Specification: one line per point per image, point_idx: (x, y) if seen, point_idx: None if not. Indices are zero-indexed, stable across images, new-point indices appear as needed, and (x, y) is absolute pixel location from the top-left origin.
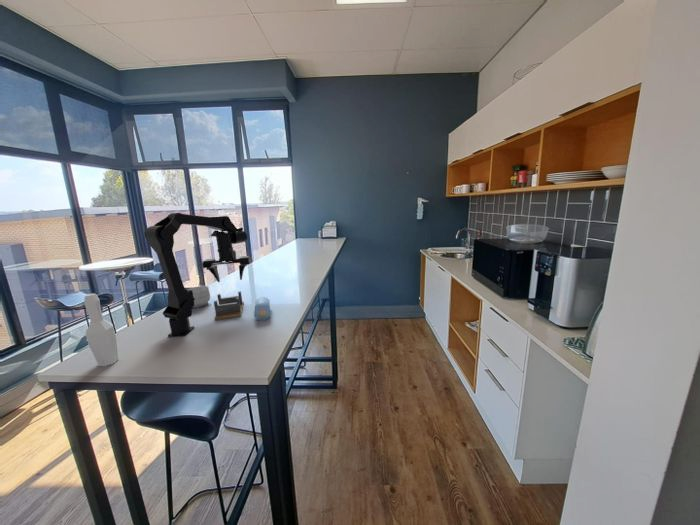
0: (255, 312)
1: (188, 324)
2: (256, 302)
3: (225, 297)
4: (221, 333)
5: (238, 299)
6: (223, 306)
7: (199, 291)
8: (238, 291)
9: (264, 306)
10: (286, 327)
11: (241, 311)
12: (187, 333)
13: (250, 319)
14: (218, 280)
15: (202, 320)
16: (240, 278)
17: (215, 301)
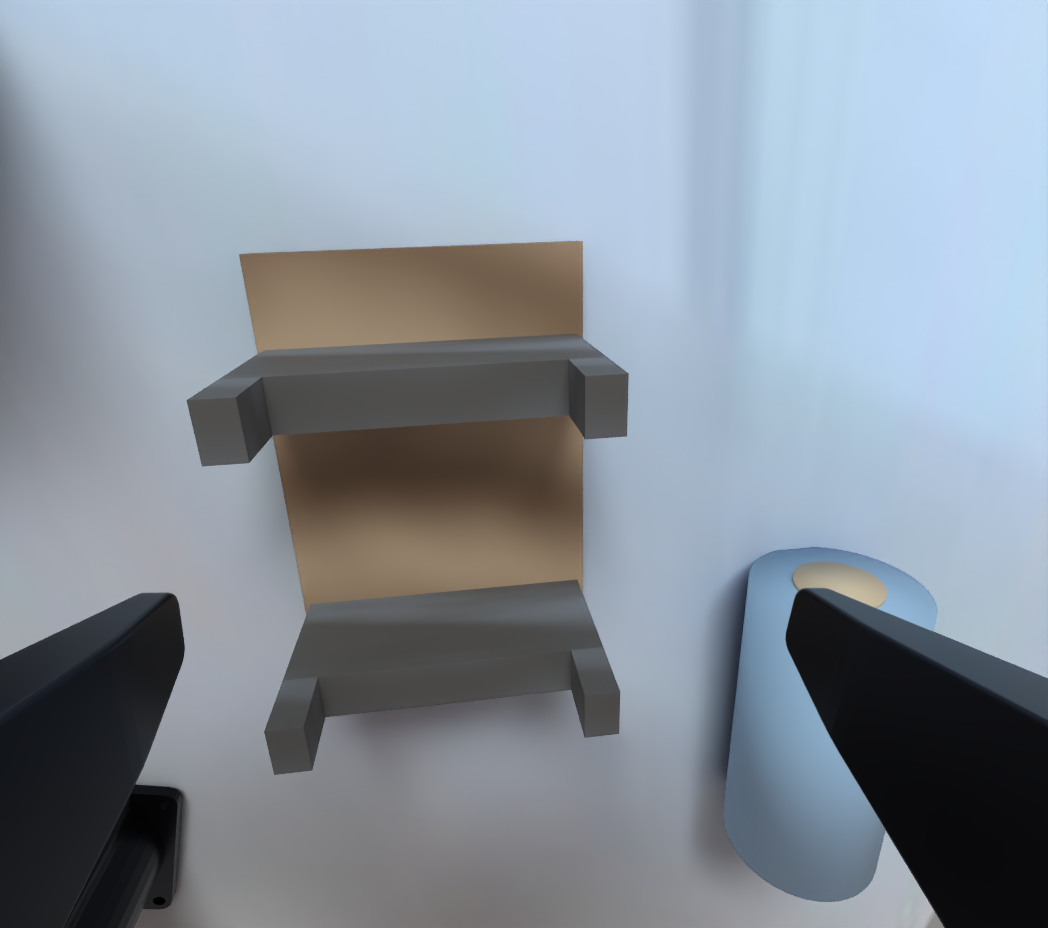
0: (753, 860)
1: (139, 898)
2: (800, 719)
3: (340, 377)
4: (464, 901)
5: (611, 723)
6: (405, 697)
7: None
8: (586, 386)
9: (865, 884)
10: (893, 897)
11: (581, 584)
12: (175, 878)
13: (666, 735)
14: (156, 717)
15: None
16: (817, 691)
17: (295, 760)
